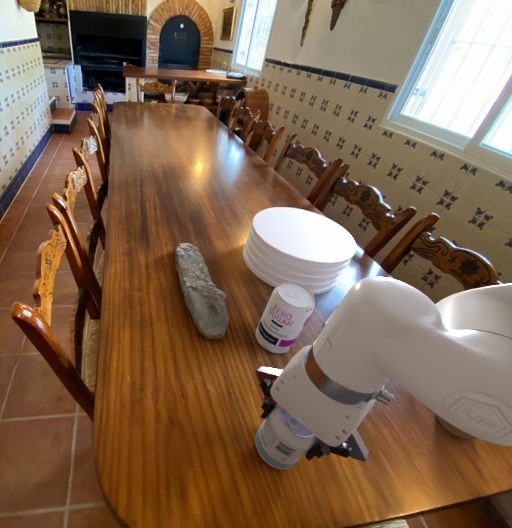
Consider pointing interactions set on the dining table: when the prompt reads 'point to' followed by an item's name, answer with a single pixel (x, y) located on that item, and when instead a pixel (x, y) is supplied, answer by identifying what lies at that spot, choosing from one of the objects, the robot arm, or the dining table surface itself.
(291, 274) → the plate stack
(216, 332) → the long grey stone
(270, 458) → the beverage can
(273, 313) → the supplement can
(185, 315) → the dining table surface
